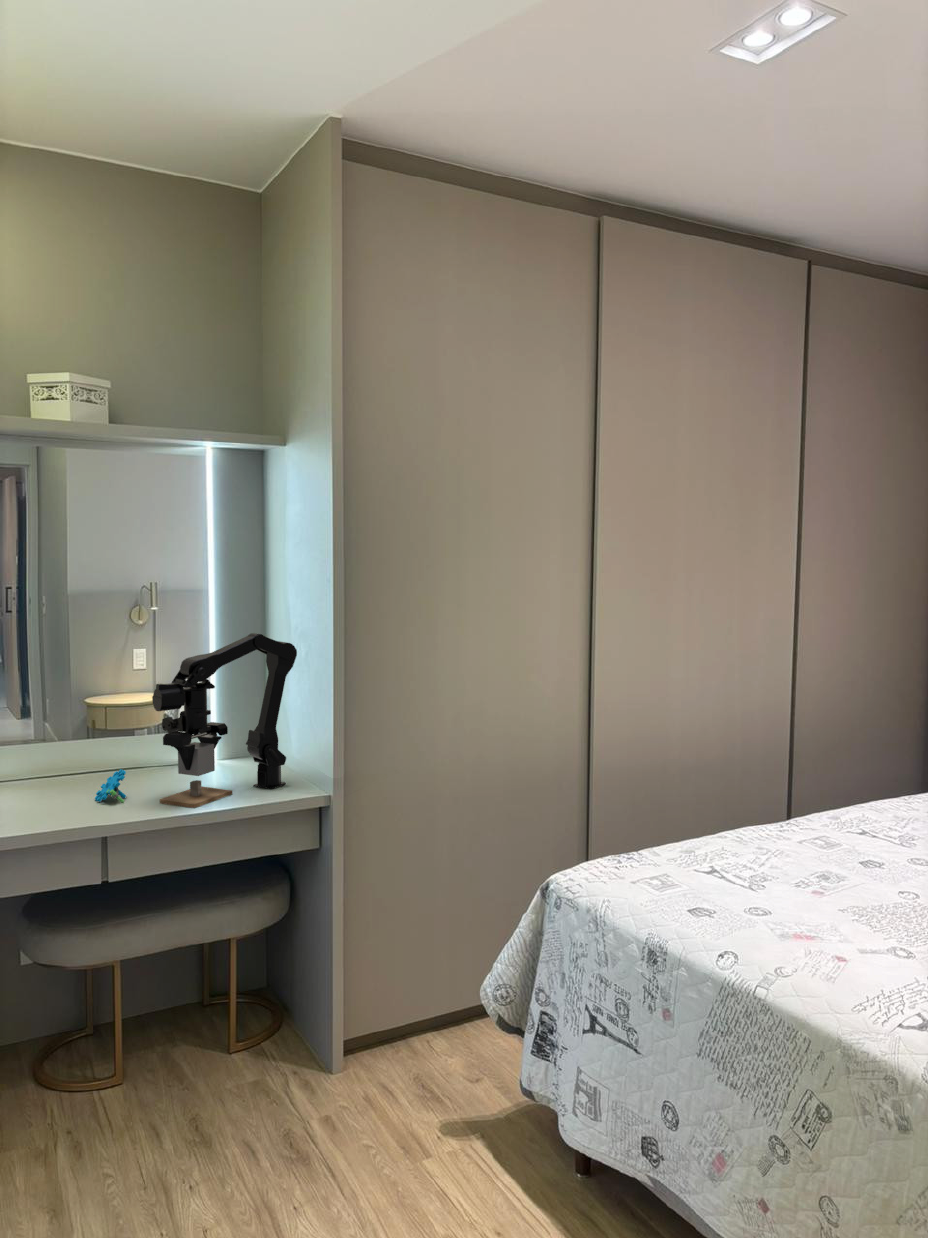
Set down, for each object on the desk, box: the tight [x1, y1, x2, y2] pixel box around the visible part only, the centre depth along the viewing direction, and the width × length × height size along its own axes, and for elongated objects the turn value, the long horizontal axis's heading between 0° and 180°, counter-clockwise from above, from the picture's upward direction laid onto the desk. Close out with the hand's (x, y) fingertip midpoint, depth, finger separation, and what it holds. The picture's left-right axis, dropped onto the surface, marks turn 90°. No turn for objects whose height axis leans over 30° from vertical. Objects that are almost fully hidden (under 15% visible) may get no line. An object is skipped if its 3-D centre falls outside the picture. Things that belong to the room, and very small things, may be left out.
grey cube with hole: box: [177, 741, 216, 777], centre depth 247 cm, size 6×6×7 cm
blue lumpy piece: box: [94, 768, 127, 804], centre depth 246 cm, size 11×6×10 cm
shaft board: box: [159, 779, 233, 809], centre depth 247 cm, size 15×11×4 cm
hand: (196, 767), depth 247 cm, fingers closed on grey cube with hole, 6 cm apart
